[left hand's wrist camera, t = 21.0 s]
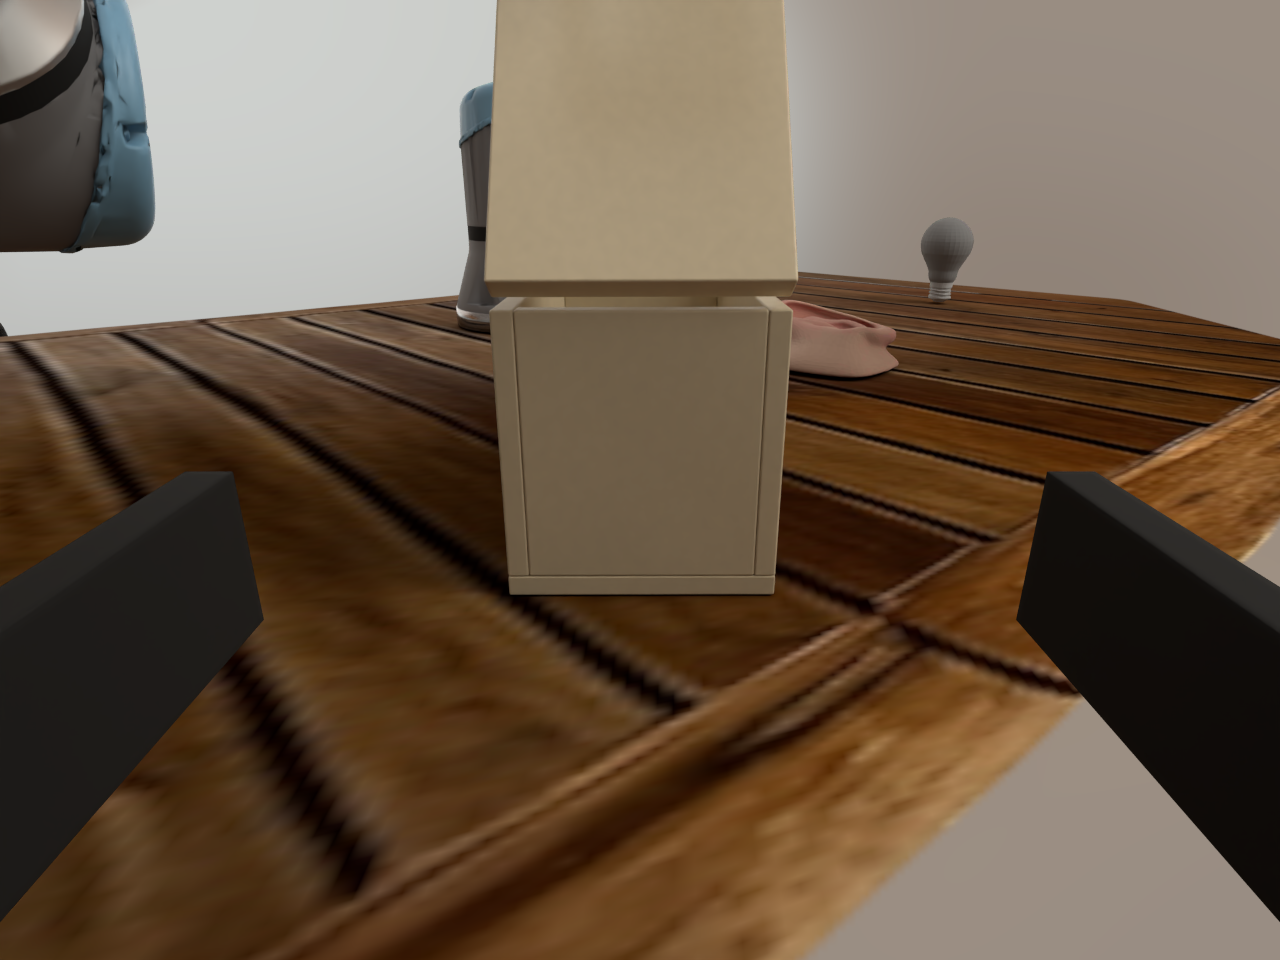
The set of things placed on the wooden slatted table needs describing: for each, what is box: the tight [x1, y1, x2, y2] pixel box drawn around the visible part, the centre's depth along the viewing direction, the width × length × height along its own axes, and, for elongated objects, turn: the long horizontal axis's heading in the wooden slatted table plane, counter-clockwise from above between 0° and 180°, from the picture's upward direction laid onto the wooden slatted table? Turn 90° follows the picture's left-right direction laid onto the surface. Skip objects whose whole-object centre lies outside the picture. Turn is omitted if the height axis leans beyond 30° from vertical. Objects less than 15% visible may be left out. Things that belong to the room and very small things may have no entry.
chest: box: [489, 296, 793, 595], centre depth 32 cm, size 17×9×10 cm, turn 0°
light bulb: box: [921, 218, 974, 302], centre depth 93 cm, size 6×6×10 cm
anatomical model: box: [782, 300, 899, 377], centre depth 62 cm, size 13×4×12 cm
